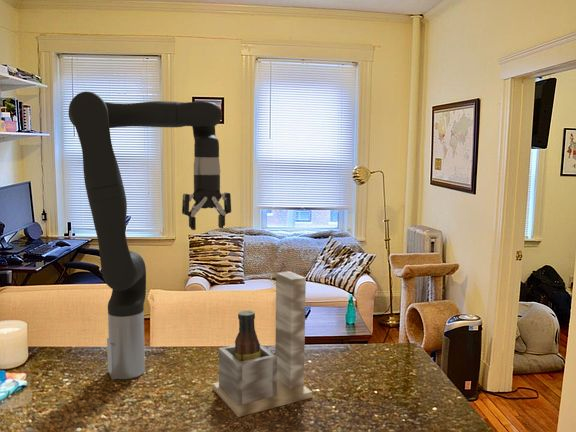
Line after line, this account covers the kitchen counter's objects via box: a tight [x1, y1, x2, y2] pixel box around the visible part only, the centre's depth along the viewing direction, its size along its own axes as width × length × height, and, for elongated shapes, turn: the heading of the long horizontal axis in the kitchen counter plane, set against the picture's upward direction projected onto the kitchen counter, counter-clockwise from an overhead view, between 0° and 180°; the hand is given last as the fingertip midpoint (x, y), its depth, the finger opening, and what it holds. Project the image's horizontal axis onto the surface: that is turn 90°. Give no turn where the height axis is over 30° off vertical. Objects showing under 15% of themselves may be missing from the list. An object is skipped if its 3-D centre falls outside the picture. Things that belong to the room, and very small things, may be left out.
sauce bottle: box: [234, 310, 261, 362], centre depth 124 cm, size 7×6×20 cm
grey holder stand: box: [212, 270, 313, 418], centre depth 125 cm, size 20×16×30 cm
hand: (207, 228), depth 146 cm, fingers open, 8 cm apart
